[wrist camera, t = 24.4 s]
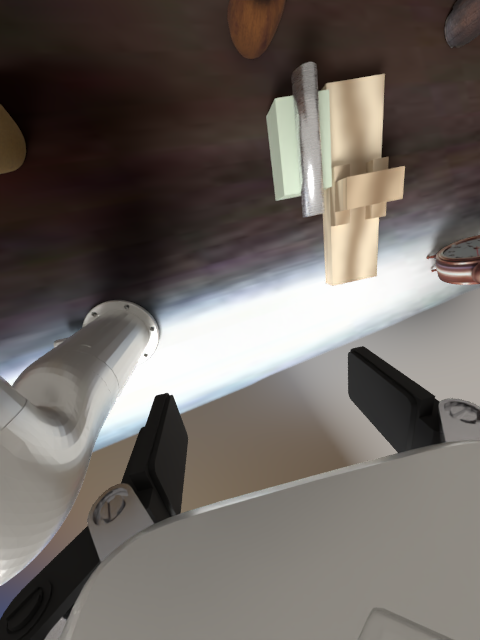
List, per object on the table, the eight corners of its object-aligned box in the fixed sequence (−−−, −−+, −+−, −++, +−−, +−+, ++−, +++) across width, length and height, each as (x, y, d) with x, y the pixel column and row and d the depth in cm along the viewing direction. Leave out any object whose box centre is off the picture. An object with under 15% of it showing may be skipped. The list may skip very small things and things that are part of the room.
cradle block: (275, 200, 36) (284, 195, 32) (266, 116, 32) (274, 98, 28) (317, 192, 36) (331, 186, 32) (313, 108, 33) (329, 89, 28)
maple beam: (325, 283, 42) (347, 291, 36) (317, 94, 32) (345, 57, 25) (367, 273, 43) (396, 280, 36) (372, 85, 32) (413, 46, 26)
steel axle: (318, 214, 34) (328, 211, 31) (299, 218, 33) (308, 215, 31) (309, 79, 28) (321, 60, 25) (287, 82, 28) (296, 63, 25)
